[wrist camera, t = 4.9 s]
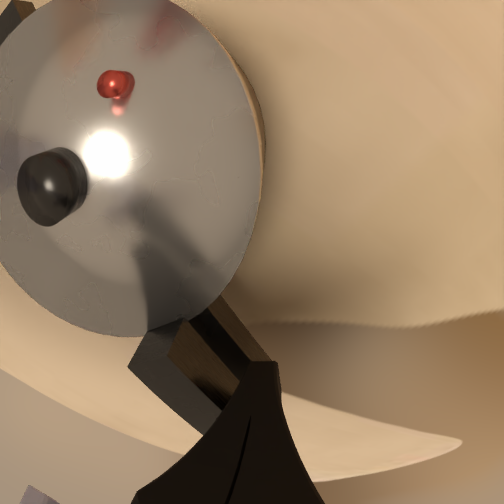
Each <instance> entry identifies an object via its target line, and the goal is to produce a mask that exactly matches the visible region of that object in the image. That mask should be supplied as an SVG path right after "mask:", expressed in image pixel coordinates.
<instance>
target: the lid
mask: <svg viewBox="0 0 504 504" xmlns="http://www.w3.org/2000/svg"><path fill="white" fill-rule="evenodd" d="M262 177H263V159H262V143H261V136H260V131H259V126H258V121H257V116H256V111H255V108H254V105H253V102H252V99H251V97H250V94H249V91H248V88H247V86H246V83H245V81H244V79H243V77H242V75H241V73H240V72H239V70H238V68H237V66H236V64H235V62H234V61H233V59H232V57H231V56H230V54H229V53H228V52H227V50H226V49H225V48H224V47H223V45H222V44H221V43H220V42H219V40H218V39H217V38H216V36H215V35H214V34H213V33H212V32H211V31H210V30H208V29H207V28H206V27H205V26H204V25H203V24H202V23H201V22H200V21H198V20H197V19H196V18H195V17H194V16H192V15H191V14H190V13H188V12H187V11H186V10H184V9H182V8H181V7H179V6H177V5H176V4H174V3H172V2H171V1H169V0H52V1H50V2H49V3H47V4H45V5H43V6H42V7H40V8H38V9H37V10H36V11H35V12H33V13H32V14H31V15H29V16H28V17H27V18H26V19H24V20H23V21H22V22H21V23H20V24H19V25H18V26H17V27H16V28H15V29H14V30H13V31H12V32H11V33H10V34H9V35H8V37H7V38H6V39H5V41H4V42H3V43H2V45H1V46H0V262H1V263H2V265H3V266H4V268H5V269H6V270H7V272H8V273H9V274H10V275H11V277H12V278H13V279H14V280H15V281H16V283H17V284H18V285H19V286H20V287H21V288H22V289H23V290H24V291H25V292H26V293H27V294H28V295H29V296H30V297H31V298H33V299H34V300H35V301H36V302H38V303H39V304H40V305H41V306H42V307H44V308H45V309H47V310H48V311H50V312H51V313H53V314H54V315H56V316H57V317H59V318H61V319H63V320H65V321H67V322H69V323H71V324H73V325H75V326H78V327H80V328H83V329H85V330H88V331H92V332H96V333H99V334H103V335H110V336H117V337H140V336H144V337H143V339H142V341H141V343H140V345H139V346H138V348H137V350H136V352H135V354H134V356H133V357H132V359H131V361H130V363H129V365H128V368H129V369H130V370H131V371H132V372H133V373H134V374H135V375H136V376H137V377H138V378H139V379H140V380H141V381H142V382H143V383H144V384H145V385H146V386H147V387H148V388H149V389H150V390H151V391H152V392H153V393H154V394H156V395H157V396H158V397H159V398H160V399H161V400H162V401H163V402H164V403H165V404H167V405H168V406H169V407H170V408H171V409H172V410H173V411H175V412H176V413H177V414H178V415H179V416H180V417H182V418H183V419H184V420H185V421H186V422H188V423H189V424H190V425H191V426H192V427H194V428H195V429H196V430H197V431H199V432H200V433H201V434H202V435H204V434H205V433H206V432H207V431H208V429H209V428H210V427H211V426H212V424H213V423H214V422H215V420H216V419H217V417H218V416H219V415H220V413H221V412H222V410H223V409H224V408H225V406H226V404H227V403H228V401H229V400H230V398H231V396H232V395H233V393H234V391H235V390H236V388H237V386H238V384H239V382H240V381H239V380H238V379H237V378H236V377H235V376H234V375H233V373H232V372H231V371H230V370H229V369H228V368H227V367H226V366H225V364H224V363H223V362H222V361H221V360H220V359H219V358H218V356H217V355H216V354H215V353H214V352H213V351H212V350H211V348H210V347H209V346H208V345H207V344H206V342H205V341H204V340H203V339H202V338H201V337H200V335H199V334H198V333H197V332H196V331H195V329H194V328H193V327H192V326H191V324H190V323H189V322H188V321H189V320H191V319H192V318H194V317H195V316H197V315H198V314H200V313H201V312H203V311H204V310H205V309H206V308H207V307H208V306H209V305H210V304H211V303H212V302H213V301H214V300H216V299H217V298H218V296H219V295H220V294H221V292H222V291H223V290H224V289H225V287H226V286H227V285H228V283H229V282H230V281H231V279H232V277H233V276H234V274H235V272H236V270H237V268H238V267H239V265H240V263H241V261H242V259H243V257H244V254H245V252H246V249H247V246H248V244H249V241H250V238H251V236H252V233H253V229H254V226H255V222H256V218H257V213H258V208H259V204H260V199H261V190H262Z"/></svg>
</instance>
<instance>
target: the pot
mask: <svg viewBox="0 0 504 504" xmlns="http://www.w3.org/2000/svg"><path fill="white" fill-rule="evenodd" d="M35 11H36V9H35V7H34V5H33V3H32V2H27V1H20V0H11V2H10V3H9V4H8V6H7V7H6V8H5V10H4V11H3V13H2V14H1V15H0V46H1V45H2V43H3V42H4V41H5V39H6V38H7V37H8V35H9V34H10V33H11V32H12V31H13V30H14V29H15V28H16V27H17V26H18V25H19V24H20V23H21V22H22V21H23V20H24V19H26V18H27V17H28V16H29V15H31V14H32V13H33V12H35ZM232 59H233V58H232ZM233 61H234V62H235V60H234V59H233ZM235 64H236V66H237V68H238V70H239V72H240V73H241V75H242V77H243V79H244V81H245V83H246V86H247V88H248V91H249V94H250V97H251V99H252V102H253V105H254V108H255V111H256V116H257V121H258V126H259V131H260V136H261V143H262V159H263V168H264V163H265V147H266V141H265V129H264V122H263V117H262V113H261V109H260V105H259V102H258V100H257V97H256V95H255V92H254V89H253V87H252V86H251V84H250V82H249V80H248V79H247V77H246V75H245V73H244V72H243V70H242V69H241V68H240V67H239V65H238V64H237V63H236V62H235ZM188 322H189V323H190V324H191V326H192V327H193V328H194V329H195V331H196V332H197V333H198V334H199V335H200V337H201V338H202V339H203V340H204V341H205V342H206V344H207V345H208V346H209V347H210V348H211V350H212V351H213V352H214V353H215V354H216V355H217V356H218V358H219V359H220V360H221V361H222V362H223V363H224V364H225V366H226V367H227V368H228V369H229V370H230V371H231V372H232V373H233V375H234V376H235V377H236V378H237V379H238V380H239V381H240V380H241V379H242V377H243V375H244V372H245V370H246V368H247V366H248V363H249V362H251V361H272V360H271V359H270V358H269V357H268V355H267V354H266V353H265V352H264V350H263V349H262V348H261V347H260V345H259V344H258V343H257V342H256V340H255V339H254V338H253V337H252V335H251V334H250V333H249V331H248V330H247V329H246V328H245V326H244V325H243V324H242V322H241V321H240V320H239V319H238V317H237V316H236V315H235V313H234V312H233V311H232V310H231V308H230V307H229V306H228V304H227V303H226V302H225V300H224V299H223V298H222V296H221V295H219V296H218V298H217V299H216V300H214V301H213V302H212V303H211V304H210V305H209V306H208V307H207V308H206V309H205V310H204V311H203V312H201V313H200V314H198V315H197V316H195V317H194V318H192V319H191V320H189V321H188Z"/></svg>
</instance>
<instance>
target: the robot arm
mask: <svg viewBox="0 0 504 504" xmlns="http://www.w3.org/2000/svg"><path fill="white" fill-rule="evenodd" d="M20 504H59V503H58V502H56V501H55V500H54V499H52V498H51V497H49V496H47V495H46V494H44V493H42V492H41V491H39V490H37V489H35V488H34V487H32V486H30V485H28V487H27V489H26V492H25V493H24V496H23V498H22V500H21V502H20ZM131 504H325V503H324V501H323V500H322V498H321V496H320V495H319V493H318V492H317V490H316V488H315V486H314V484H313V482H312V481H311V479H310V477H309V475H308V473H307V471H306V469H305V467H304V465H303V463H302V461H301V458H300V456H299V454H298V451H297V449H296V447H295V444H294V442H293V439H292V436H291V434H290V431H289V428H288V425H287V422H286V418H285V415H284V412H283V408H282V402H281V384H280V377H279V369H278V363H277V362H275V361H251V362H249V363H248V366H247V368H246V370H245V372H244V375H243V377H242V379H241V380H240V382H239V384H238V386H237V388H236V390H235V391H234V393H233V395H232V396H231V398H230V400H229V401H228V403H227V404H226V406H225V408H224V409H223V410H222V412H221V413H220V415H219V416H218V417H217V419H216V420H215V422H214V423H213V424H212V426H211V427H210V428H209V429H208V431H207V432H206V433H205V434H204V435H203V437H202V438H201V439H200V440H199V441H198V442H197V443H196V444H195V445H194V446H193V447H192V448H191V449H190V450H189V451H188V452H187V453H186V454H185V455H184V457H182V458H181V459H180V460H179V461H178V462H177V463H175V464H174V465H173V466H172V467H171V468H169V469H168V470H167V471H166V472H164V473H163V474H162V475H161V476H159V477H158V478H156V479H155V480H153V481H152V482H150V483H149V484H147V485H146V486H144V487H143V488H141V489H140V490H138V491H137V493H136V494H135V496H134V498H133V500H132V502H131Z"/></svg>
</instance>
